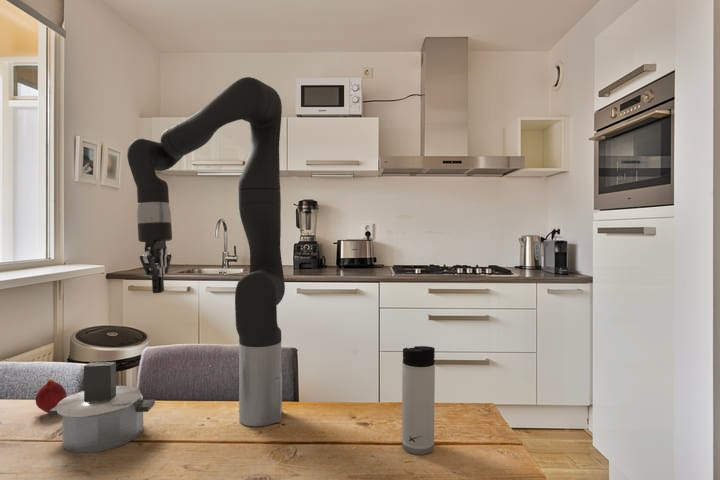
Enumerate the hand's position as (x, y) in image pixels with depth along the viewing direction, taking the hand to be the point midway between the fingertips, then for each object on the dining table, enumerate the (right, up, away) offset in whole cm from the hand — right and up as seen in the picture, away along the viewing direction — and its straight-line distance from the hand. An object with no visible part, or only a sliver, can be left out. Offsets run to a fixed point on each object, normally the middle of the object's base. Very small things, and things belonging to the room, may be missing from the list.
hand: (158, 292), depth 109 cm
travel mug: (+61, -28, -22) cm, 70 cm away
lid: (-3, -20, -19) cm, 28 cm away
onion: (-22, -27, -6) cm, 35 cm away
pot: (-3, -27, -17) cm, 32 cm away
